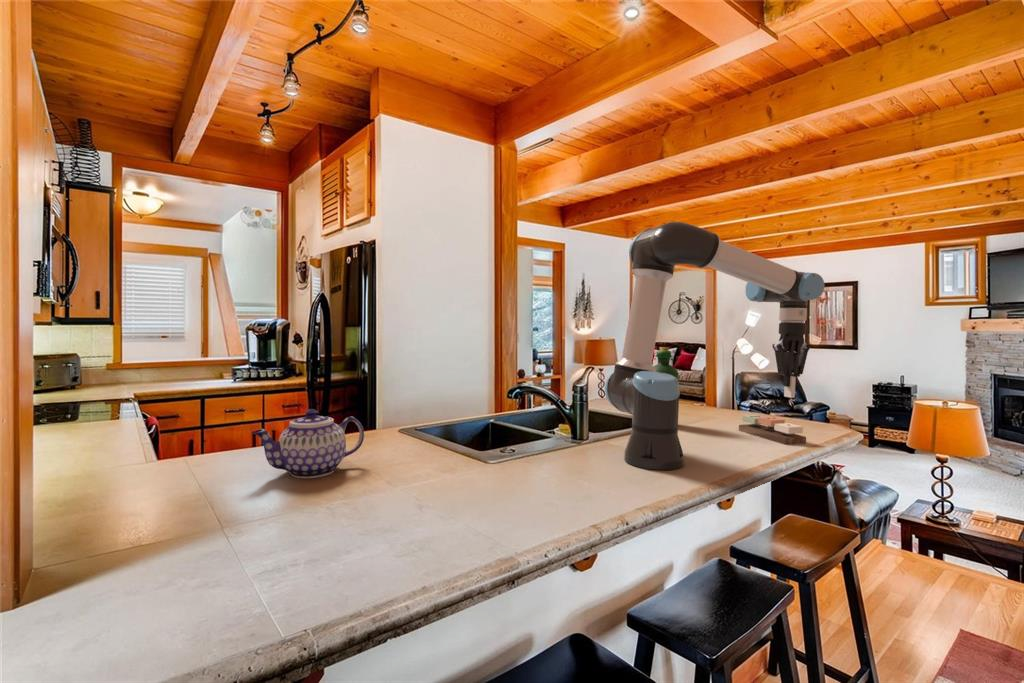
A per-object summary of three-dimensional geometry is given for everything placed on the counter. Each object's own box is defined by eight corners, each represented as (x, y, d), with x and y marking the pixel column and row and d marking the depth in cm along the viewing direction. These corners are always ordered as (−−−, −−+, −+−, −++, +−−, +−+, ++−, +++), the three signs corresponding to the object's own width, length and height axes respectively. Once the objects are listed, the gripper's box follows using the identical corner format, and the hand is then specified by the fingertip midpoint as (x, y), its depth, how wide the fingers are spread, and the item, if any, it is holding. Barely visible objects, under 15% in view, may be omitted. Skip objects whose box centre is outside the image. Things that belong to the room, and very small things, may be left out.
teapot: (354, 456, 132) (355, 400, 132) (374, 471, 120) (375, 409, 119) (248, 471, 118) (248, 408, 117) (258, 490, 105) (258, 420, 105)
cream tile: (788, 440, 154) (788, 427, 154) (774, 436, 160) (774, 423, 159) (802, 439, 156) (802, 426, 156) (787, 435, 161) (788, 422, 161)
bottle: (673, 422, 186) (676, 346, 184) (680, 428, 175) (682, 348, 174) (644, 421, 187) (646, 346, 185) (649, 427, 176) (651, 347, 175)
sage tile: (754, 430, 168) (754, 418, 168) (742, 427, 173) (742, 415, 173) (767, 430, 169) (768, 417, 169) (755, 426, 175) (755, 414, 174)
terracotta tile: (770, 433, 161) (771, 420, 161) (757, 429, 166) (758, 416, 166) (784, 432, 163) (784, 419, 162) (771, 428, 168) (771, 416, 168)
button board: (785, 444, 154) (785, 438, 154) (738, 430, 173) (738, 424, 173) (805, 443, 156) (806, 436, 156) (757, 429, 175) (757, 423, 175)
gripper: (785, 321, 151) (782, 399, 152) (819, 322, 155) (815, 398, 156) (766, 321, 158) (763, 395, 159) (799, 322, 162) (795, 394, 163)
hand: (789, 396), depth 157 cm, fingers closed
